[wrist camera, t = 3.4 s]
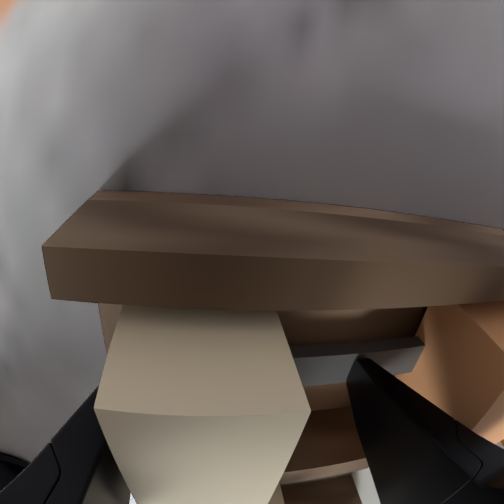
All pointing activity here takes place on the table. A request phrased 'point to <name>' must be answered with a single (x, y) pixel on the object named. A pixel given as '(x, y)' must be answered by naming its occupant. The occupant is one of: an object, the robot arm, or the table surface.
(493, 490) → the robot arm
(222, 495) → the cream orange dumbbell block
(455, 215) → the table surface
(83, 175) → the table surface
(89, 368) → the table surface
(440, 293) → the lane rack
